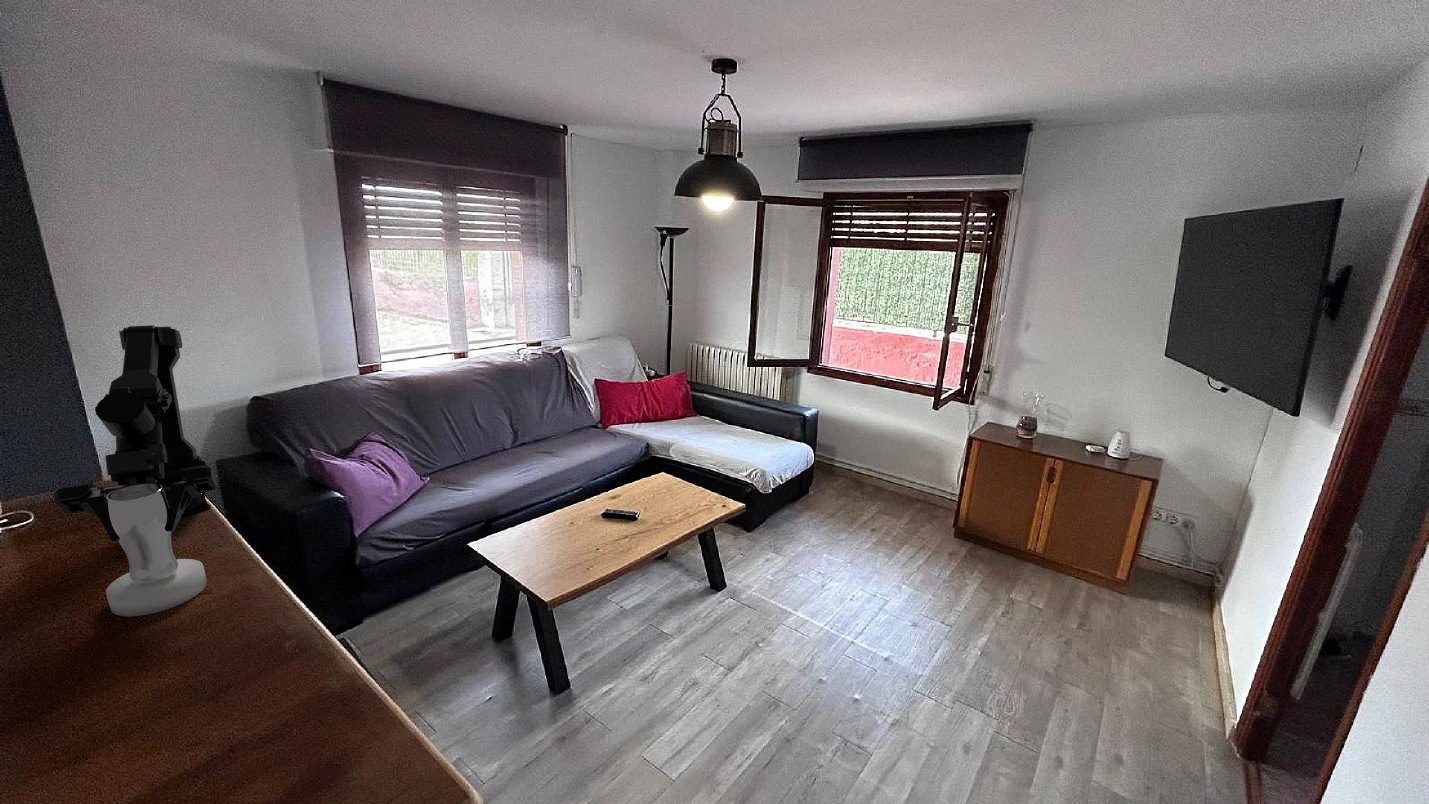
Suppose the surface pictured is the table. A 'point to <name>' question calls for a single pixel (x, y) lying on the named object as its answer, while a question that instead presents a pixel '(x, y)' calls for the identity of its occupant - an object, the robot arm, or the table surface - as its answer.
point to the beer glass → (143, 530)
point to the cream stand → (156, 590)
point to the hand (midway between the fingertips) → (143, 536)
